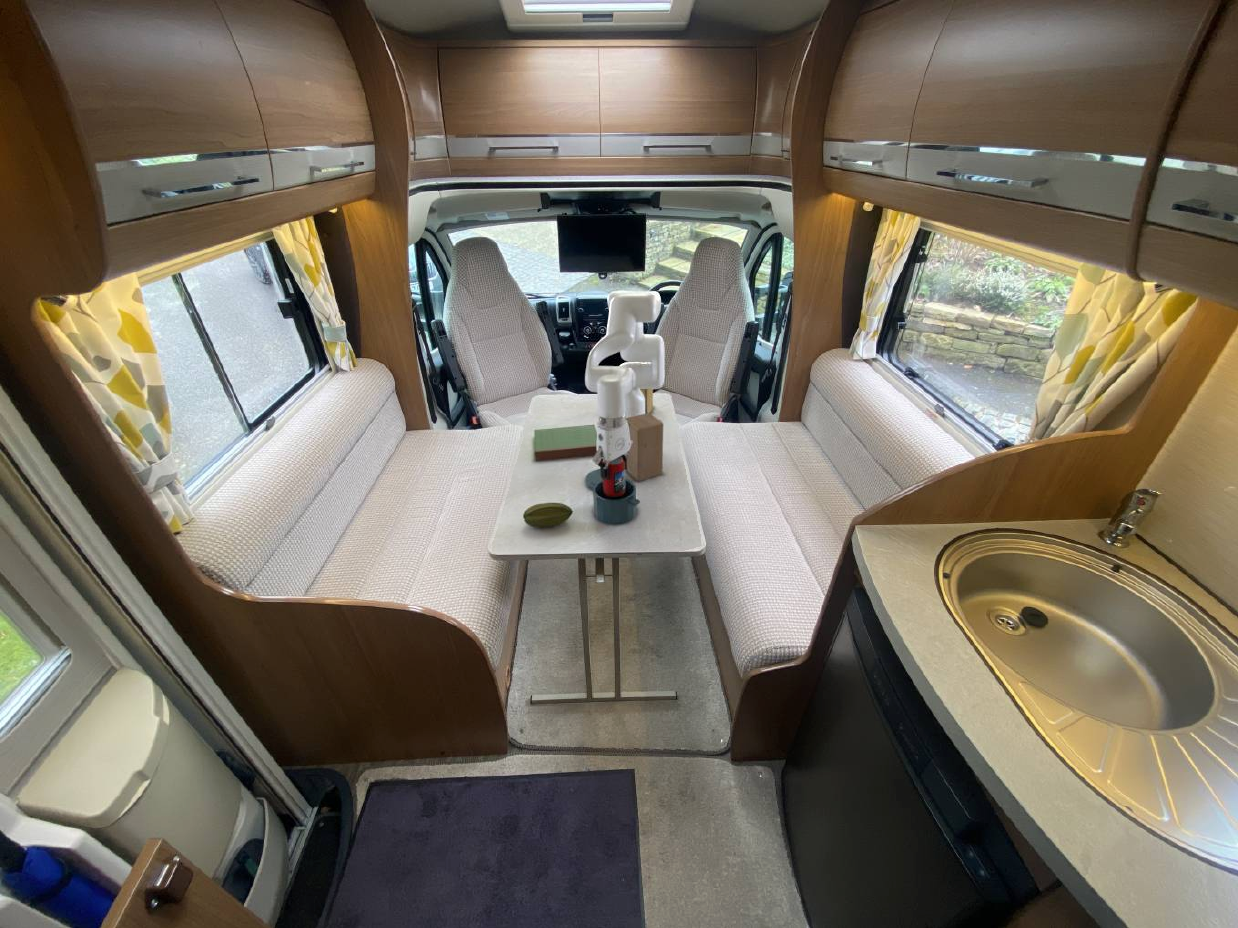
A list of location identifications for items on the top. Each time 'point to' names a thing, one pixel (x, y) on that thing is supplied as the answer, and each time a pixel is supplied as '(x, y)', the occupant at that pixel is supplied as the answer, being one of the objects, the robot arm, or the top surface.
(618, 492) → the beverage can
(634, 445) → the wooden block
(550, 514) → the fruit
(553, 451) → the book
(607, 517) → the pot
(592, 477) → the pot lid
